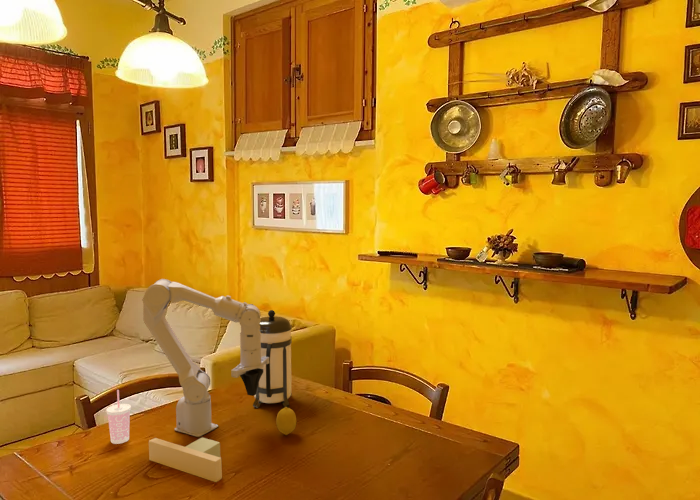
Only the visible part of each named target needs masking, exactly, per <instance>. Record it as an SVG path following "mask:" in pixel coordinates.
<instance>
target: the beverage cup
mask: <svg viewBox="0 0 700 500" xmlns="http://www.w3.org/2000/svg"><path fill="white" fill-rule="evenodd" d="M116 395H117V399H116V402H117V404H114V405H110V406H108V407H107V408H106V414H107V418H108V419H107V420H108V428H109V435H110V442H111V443H112V444H113V445H117V444H118V445H119V444H120V445H121V444H123V443H126V442H128V441H129V440H130V425H131V424H130V423H131V422H130V421H131V418H130V413H131V409H132V405H131V404H129V403H120V390H119V389H117V390H116Z"/></svg>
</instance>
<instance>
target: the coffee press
mask: <svg viewBox="0 0 700 500" xmlns="http://www.w3.org/2000/svg"><path fill="white" fill-rule="evenodd" d="M267 314H268V316H263V317H260V318H261V321H260V332H261V357H263V356H265V357H269V364H264V367H262V368H260V369H263V374H262V376H261V378H260V380H259V383H258V387H257V391H256V395H254V396H253V397H254V402H253V404H252V407H253V408H256V409H258V408H259V407H260V406H261V405H262V404H263V403H265V404H277V403H281V404H282V406H283V408H285V407H287V408H290V402H289V398H290V397H292V339H293V338H292V329H293V325H292V324H291V322H290V320H289V319H288V318H286V317H283V316H276V312H275V311H274V310H273V309H271V310H269V311H268V312H267Z"/></svg>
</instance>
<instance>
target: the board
mask: <svg viewBox="0 0 700 500" xmlns="http://www.w3.org/2000/svg"><path fill="white" fill-rule="evenodd" d="M148 456H149V461H151V462H153V463H157V464H160V465H163V466H167V467H168V468H169V467H170V468H172V469H175V470H178V471H181V472H185V473H187V474H190V475H193V476H196V477H199V478H202V479H205V480H208V481H210V482H214V483H217V482H219V481H220V480H222V479H223V471H222V469H223V468H222V467H223V466H222V463H223V462H222V457H221V456H220V457H217V456H213V455H210V454H207V453H204V452H200V451H197V450H194V449H190V448H187V447H185V446H183V445H181V444H177V443H173V442H170V441H167V440H164V439H161V438H157V437H154V438H152V439H149V440H148Z"/></svg>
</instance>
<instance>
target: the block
mask: <svg viewBox="0 0 700 500" xmlns="http://www.w3.org/2000/svg"><path fill="white" fill-rule="evenodd" d="M184 447H187V448H190V449H194V450H197V451H200V452H204V453H207V454H210V455H213V456H217V457H220V458H221V443H220V442H219V441H216V440H213V439H210V438H209V439H208V438H207V437H203V436H201V437H199V438H198V439H196V440H195V441H193V442H191V443H189V444H188V445H186V446H184Z"/></svg>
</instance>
